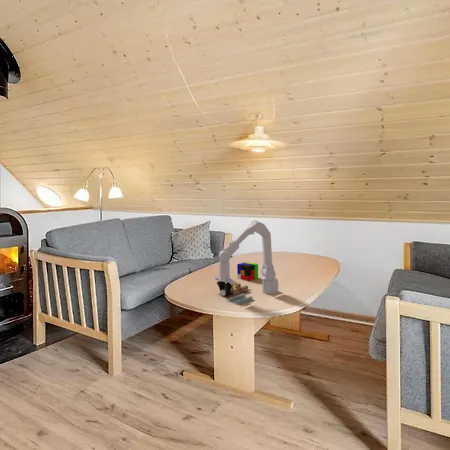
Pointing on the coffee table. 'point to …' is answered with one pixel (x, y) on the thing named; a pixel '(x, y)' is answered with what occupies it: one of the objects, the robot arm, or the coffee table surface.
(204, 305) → the coffee table surface
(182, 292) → the coffee table surface
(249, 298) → the rack
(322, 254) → the coffee table surface
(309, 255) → the coffee table surface
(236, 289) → the socket block
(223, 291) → the shiny metal cylinder
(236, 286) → the tan blocky piece
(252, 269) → the puzzle toy
